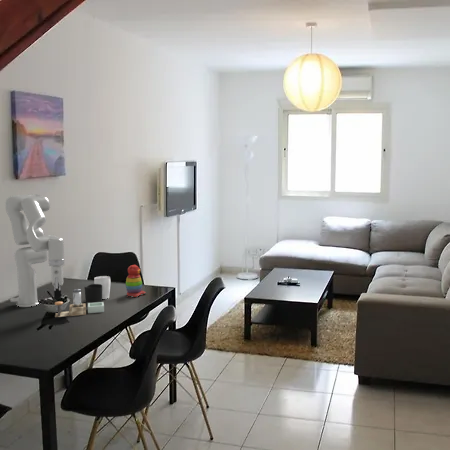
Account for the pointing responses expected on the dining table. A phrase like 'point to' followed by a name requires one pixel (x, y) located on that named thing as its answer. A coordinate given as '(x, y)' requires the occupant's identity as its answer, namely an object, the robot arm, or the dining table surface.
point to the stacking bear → (134, 281)
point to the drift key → (58, 304)
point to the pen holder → (93, 293)
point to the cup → (103, 285)
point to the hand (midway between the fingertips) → (57, 297)
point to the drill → (77, 298)
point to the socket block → (72, 311)
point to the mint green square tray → (95, 307)
